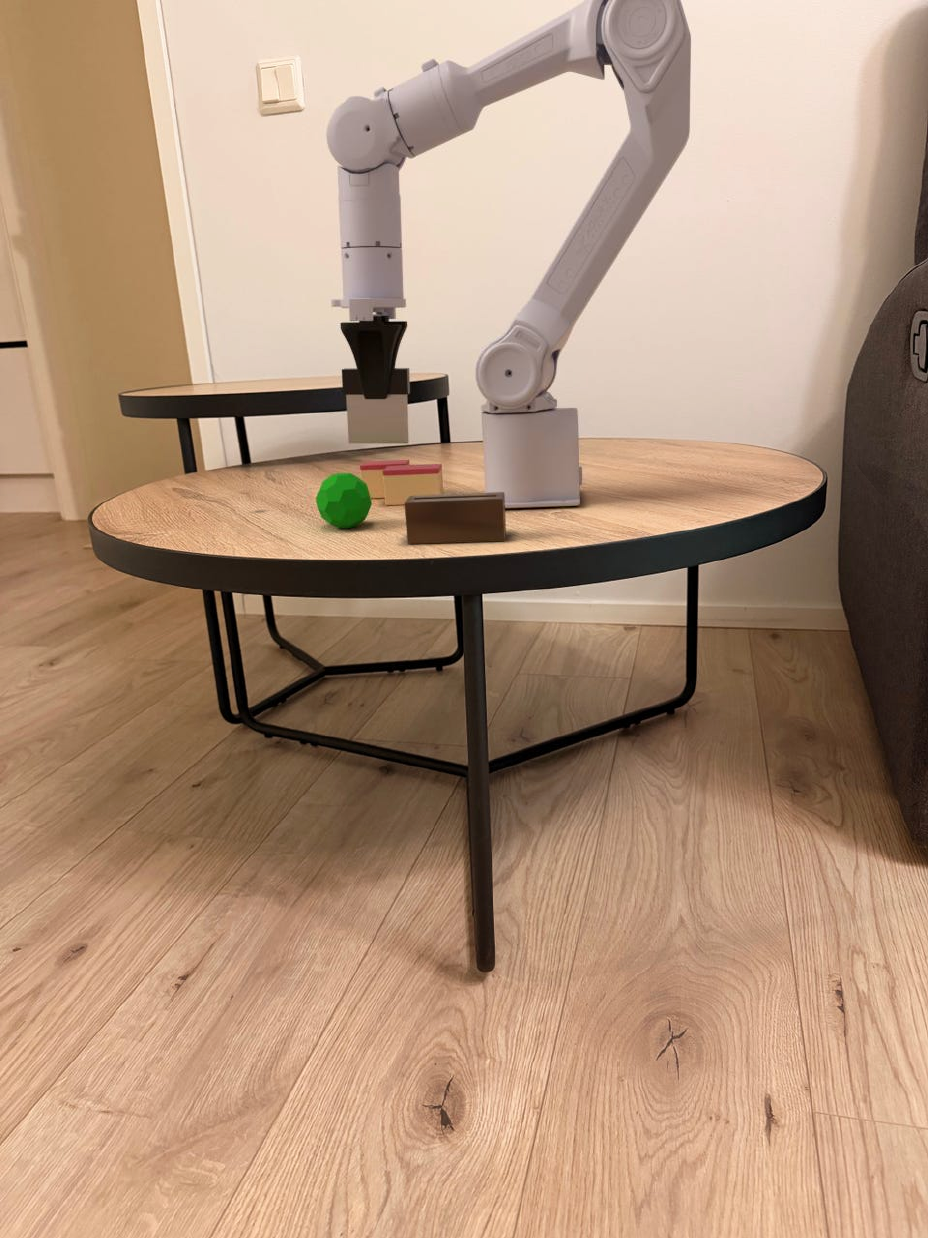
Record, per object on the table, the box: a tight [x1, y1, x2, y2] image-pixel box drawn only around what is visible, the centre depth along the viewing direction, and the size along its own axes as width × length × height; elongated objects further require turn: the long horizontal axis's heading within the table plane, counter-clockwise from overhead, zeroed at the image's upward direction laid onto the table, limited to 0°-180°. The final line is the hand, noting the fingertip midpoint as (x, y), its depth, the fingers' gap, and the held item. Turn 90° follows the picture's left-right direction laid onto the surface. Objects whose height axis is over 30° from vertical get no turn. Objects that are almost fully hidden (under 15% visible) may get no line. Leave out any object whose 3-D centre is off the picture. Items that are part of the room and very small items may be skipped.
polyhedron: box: [315, 472, 373, 529], centre depth 83 cm, size 5×5×5 cm
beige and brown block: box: [341, 367, 411, 445], centre depth 90 cm, size 6×2×7 cm, turn 85°
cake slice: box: [359, 459, 410, 499], centre depth 97 cm, size 5×3×4 cm, turn 85°
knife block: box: [404, 492, 507, 545], centre depth 76 cm, size 8×3×4 cm, turn 85°
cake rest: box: [383, 463, 445, 506], centre depth 93 cm, size 6×3×4 cm, turn 85°
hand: (377, 397), depth 90 cm, fingers closed on beige and brown block, 2 cm apart
